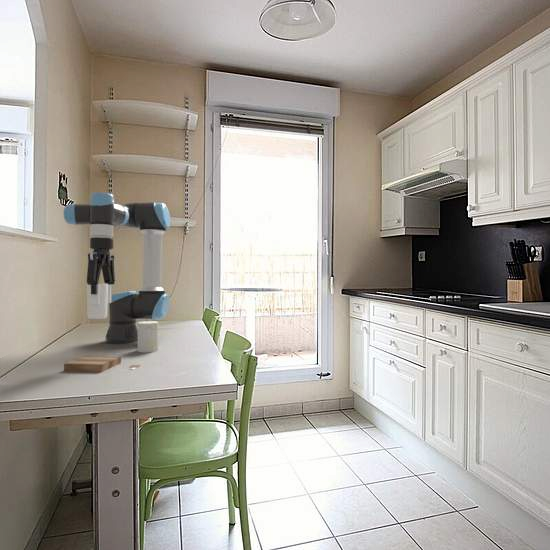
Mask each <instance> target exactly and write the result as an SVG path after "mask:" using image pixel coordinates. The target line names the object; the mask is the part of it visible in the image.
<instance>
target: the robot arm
mask: <svg viewBox="0 0 550 550" xmlns="http://www.w3.org/2000/svg"><path fill="white" fill-rule="evenodd" d="M114 198H115V197H114V194H112V193H108V192H100V191H99V192H92V193H91V194H90V201H89V203H86V204H84V203H81V204H80V203H79V204H77V203H74V204H73V203H72V204H67V205H65V206H64V209H63V218H64V221H65V222H66V223H67V224H69V225H76V226H77V225H81V226H83V225H89V226H90V228H89V231H90V232H89V235H90V238H89V247H90V249H92V250H93V252H91V253H87V258H88V259H87V261H88V262H87V270H86V271H87V274H86V285H87V284H88V285H91V304H100V285H98V284H99V281H100V277H101V273H102V278H103V281H104V282H103V284H108V302H107V304H108V307H109V314H108V315H109V318H108V319H109V324H108V325H109V326H108V328H107V332H106V335H105V336H104V337H105V338H104V343H106V344H111V345H122V344H123V345H125V344H131V343H138V325H137V320H152V321H154V320H155V321H156V320H162V319H164V318H166V315H167V314H168V312H169V308H170V307H169V306H170V298H169V297H170V296H169V295H168V293H166V290H165V289H164V287H162V284H163V279H162V278H163V275H162V274H163V268H162V267H163V236H164V234H166V232H167V229H168V228H170V226H171V214H170V211H169V209H168V207H167V205H166V204H165V203H162V202H128V203H122V204H117V203H115V200H114ZM114 226H117V227H127V228H132V229H139V232H140V233H141V234H142V235H143V237H142V286H141V287H140V288H139V290H138V293H137V291H136V290H132V291H122V292H114V293H112V285H115V281H116V278H115V277H116V276H115V274H116V273H115V255H113V254H112V255H111V252H110V250H113V249H114V238H113V237H114V236H115V235H114Z"/></svg>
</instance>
